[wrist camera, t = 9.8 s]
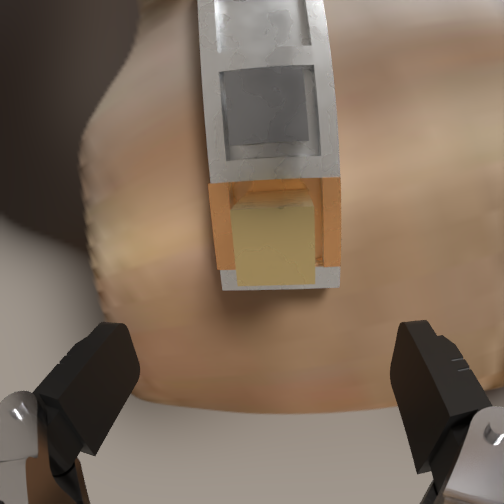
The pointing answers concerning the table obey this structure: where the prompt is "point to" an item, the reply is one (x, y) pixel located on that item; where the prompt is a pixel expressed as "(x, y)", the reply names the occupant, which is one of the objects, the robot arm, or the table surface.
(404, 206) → the table surface
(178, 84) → the table surface
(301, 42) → the grey long flat tray
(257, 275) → the yellow gold block
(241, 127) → the brushed steel cube
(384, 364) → the table surface
